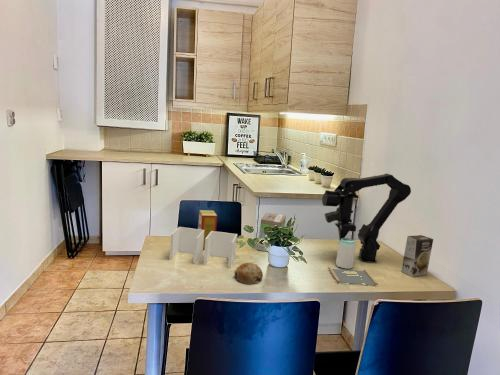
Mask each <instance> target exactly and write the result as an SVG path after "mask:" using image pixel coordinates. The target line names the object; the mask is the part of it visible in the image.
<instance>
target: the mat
mask: <svg viewBox="0 0 500 375" xmlns="http://www.w3.org/2000/svg"><path fill="white" fill-rule="evenodd" d="M328 269H329V270H328ZM327 270H328V272H329V271H330V272H331V273H330V272H329V273H330V275H331V274H332V275H333V276H332V275H331V276H332V278H333V277H334V278H333V280H334V279H335V280H336V281H335V280H334V281H335V283H336V282H337V283H336V284H339V283H349V284H348V285H353V284H362V283H365V284H366V285H365V286H368V285H378V286H379V282H378V281H377V280H376V279H375V278H374V277H373V275H371V274H372V273H370V272H369V271H368V270H367V269H366V268H363V270H354V269H343V270H342V268H332V267H331V266H328V268H327ZM350 270H351V271H355V272H357V274H358V275H359V276H347V275H357V274H346V273H342V272H344V271H350ZM351 271H350V272H351ZM360 276H362V277H360ZM361 279H362V280H361Z"/></svg>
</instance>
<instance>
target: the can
mask: <svg viewBox="0 0 500 375" xmlns="http://www.w3.org/2000/svg"><path fill="white" fill-rule="evenodd" d="M355 242H356V241H355V240H354V239H352V238H349V237H345V238H341V240H339V241H338V246H337V252H336V261H335V262H336V263H335V265H336V266H337V267H338V268H339V267H341V268H340V269H342V268H345V269H344V270H351V269H353V266H354V261H355V260H354V259H355V252H356V246H357V244H356V243H355Z"/></svg>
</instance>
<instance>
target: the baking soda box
mask: <svg viewBox="0 0 500 375" xmlns="http://www.w3.org/2000/svg"><path fill="white" fill-rule="evenodd" d="M217 223H218V215H217V213H216V212H215V210H211V209H207V210H205V209H200V210H198V223H197V229H200V230H204V243H203V251H205V239H206V237H207V236H208V235H209V234H210V232H211V231H216V232H217Z"/></svg>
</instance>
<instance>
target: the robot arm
mask: <svg viewBox="0 0 500 375" xmlns="http://www.w3.org/2000/svg"><path fill="white" fill-rule="evenodd" d="M381 185H382V186H383V185H387V186H388V188H390V189H389V194H388V198H387V199H386V201H385V202H384V203H383V205H382V206H381V208H380V209H379V210H378V211H377V213H376V215H375V216H374V217H373V219H372V220H371V222H369V223H368V224H367V225H366V224H365V223H364V224H362V226H361V228H360V229H359V230H358V233H357V238H358V240H359V241H360V244H361V248H359V254H358V257H359V259H360V260H361V262H365V263H366V262H367V263H377V260H376V259H377V252H378V251H379V250H380V248H381V245H380V243H379V242H378V241H377V240H378V238H379V233H380V230H381V229H382V227H383V225H384V224H385V222H386V221H387V220H388V219H389V217H390V215H391V214H392V213H393V211H394V210H395V209H396V208H397V206H398V205H399V204H400V203H402V202H403V201H405V200H406V199H407V198H408V197H409V196H410V195H411V193H412V188H411V186H410V185H409V184H407V183H404V182H402V181H400V180H399V179H397V178H396V177H395V176H394V175H392V174H390V173H384V174H378V175H373V176H367V177H361V178H359V177H357V178H356V177H344V178H342V179H341V181H340V183H339V184H338V186H337V187H336V188H335V189H334V190H329V189H326V190H324V193H323V195H322V199H321V200H322V201H321V202H322V206H324V207H336V210H334V211H329V212H326V213H324V218H325V221H326V223H328V224H330V223H332V222H336V223H334V225H335V226H336V227H337V231H338V239H339V241H340V240H341V238H346V236H347V235H348V234H349V232H354V233H355V232H356V231H357V226H356V225H355V223H353V219H352V214H353V213H354V210H353V204H354V199H359V198H360V197H359V196H358V195H357V192H359V191H360V190H362V189H365V188H371V187H375V186H376V187H377V186H381Z"/></svg>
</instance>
